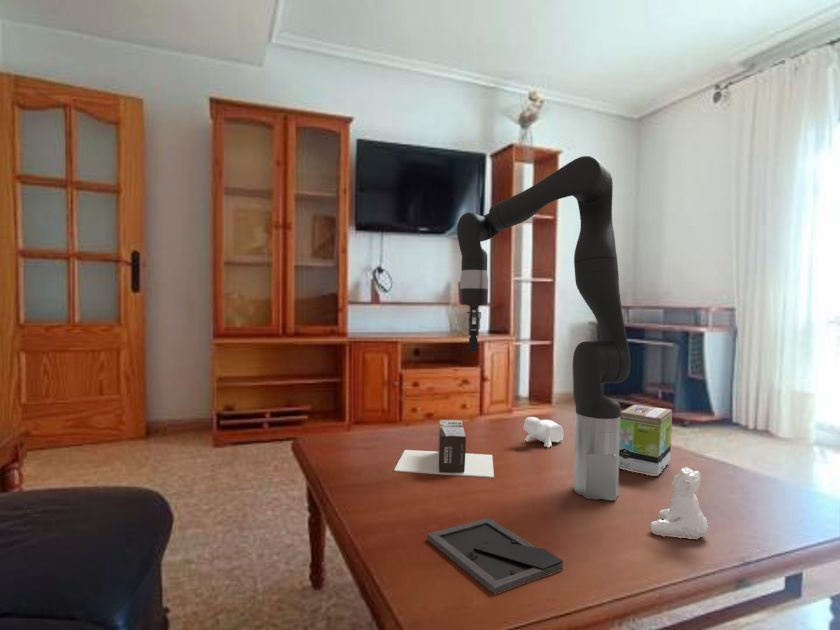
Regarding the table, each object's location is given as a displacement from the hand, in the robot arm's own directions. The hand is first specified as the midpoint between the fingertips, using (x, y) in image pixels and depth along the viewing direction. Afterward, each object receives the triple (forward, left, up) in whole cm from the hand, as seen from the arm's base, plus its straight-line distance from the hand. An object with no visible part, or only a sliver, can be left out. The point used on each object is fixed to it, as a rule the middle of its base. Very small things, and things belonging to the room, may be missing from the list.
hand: (473, 351), depth 129 cm
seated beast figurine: (-39, -39, -29) cm, 62 cm away
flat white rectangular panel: (-8, +6, -28) cm, 30 cm away
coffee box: (0, +6, -24) cm, 24 cm away
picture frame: (-52, -4, -29) cm, 60 cm away
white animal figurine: (+15, -21, -29) cm, 39 cm away
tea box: (-1, -45, -29) cm, 53 cm away
